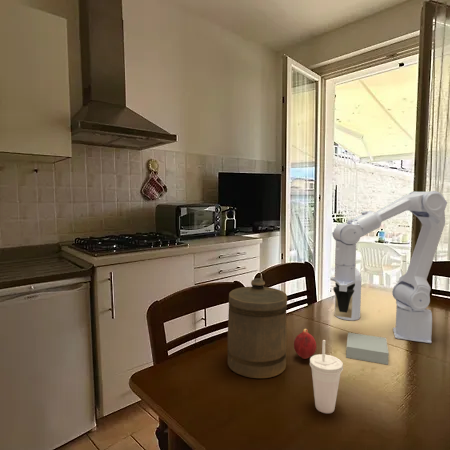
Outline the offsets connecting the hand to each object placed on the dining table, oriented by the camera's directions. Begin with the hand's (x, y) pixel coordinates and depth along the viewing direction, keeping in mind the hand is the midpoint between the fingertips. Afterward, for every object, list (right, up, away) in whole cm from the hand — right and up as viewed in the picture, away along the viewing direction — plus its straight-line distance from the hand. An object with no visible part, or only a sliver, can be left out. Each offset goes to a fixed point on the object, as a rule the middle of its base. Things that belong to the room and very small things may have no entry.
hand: (343, 309), depth 100 cm
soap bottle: (+8, -8, +19) cm, 22 cm away
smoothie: (-15, -12, -33) cm, 38 cm away
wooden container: (-28, -10, -15) cm, 33 cm away
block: (0, -2, 0) cm, 2 cm away
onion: (-15, -10, -12) cm, 22 cm away
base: (+3, -10, -9) cm, 14 cm away
